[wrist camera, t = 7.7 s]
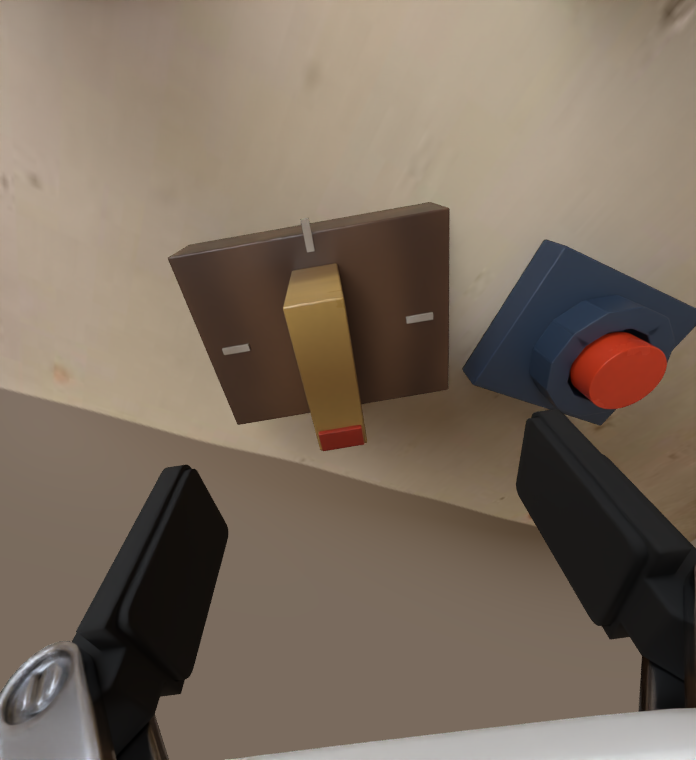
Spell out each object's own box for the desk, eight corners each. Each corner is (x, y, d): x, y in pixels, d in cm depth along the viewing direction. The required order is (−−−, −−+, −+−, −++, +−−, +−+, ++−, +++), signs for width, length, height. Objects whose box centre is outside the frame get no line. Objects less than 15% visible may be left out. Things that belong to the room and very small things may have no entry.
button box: (678, 302, 22) (743, 327, 19) (582, 409, 26) (621, 445, 23) (543, 238, 19) (591, 254, 16) (461, 369, 24) (485, 403, 20)
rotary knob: (291, 270, 16) (281, 309, 12) (337, 262, 16) (344, 298, 12) (319, 391, 20) (320, 455, 16) (357, 384, 20) (368, 447, 16)
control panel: (431, 188, 18) (451, 192, 15) (434, 373, 24) (449, 399, 21) (183, 232, 18) (159, 244, 15) (248, 404, 24) (239, 434, 21)
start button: (656, 344, 19) (684, 358, 18) (605, 399, 21) (627, 417, 20) (603, 322, 18) (628, 335, 17) (555, 381, 20) (574, 399, 19)
